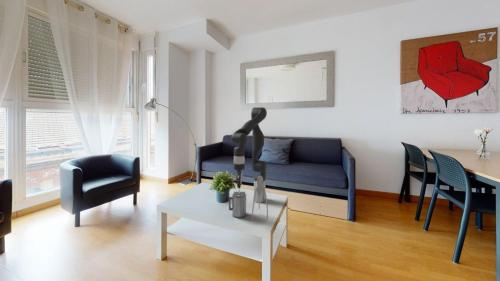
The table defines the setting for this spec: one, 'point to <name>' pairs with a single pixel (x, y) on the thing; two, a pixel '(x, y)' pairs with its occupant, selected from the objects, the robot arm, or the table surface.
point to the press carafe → (238, 204)
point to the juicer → (260, 186)
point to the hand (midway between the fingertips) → (239, 186)
